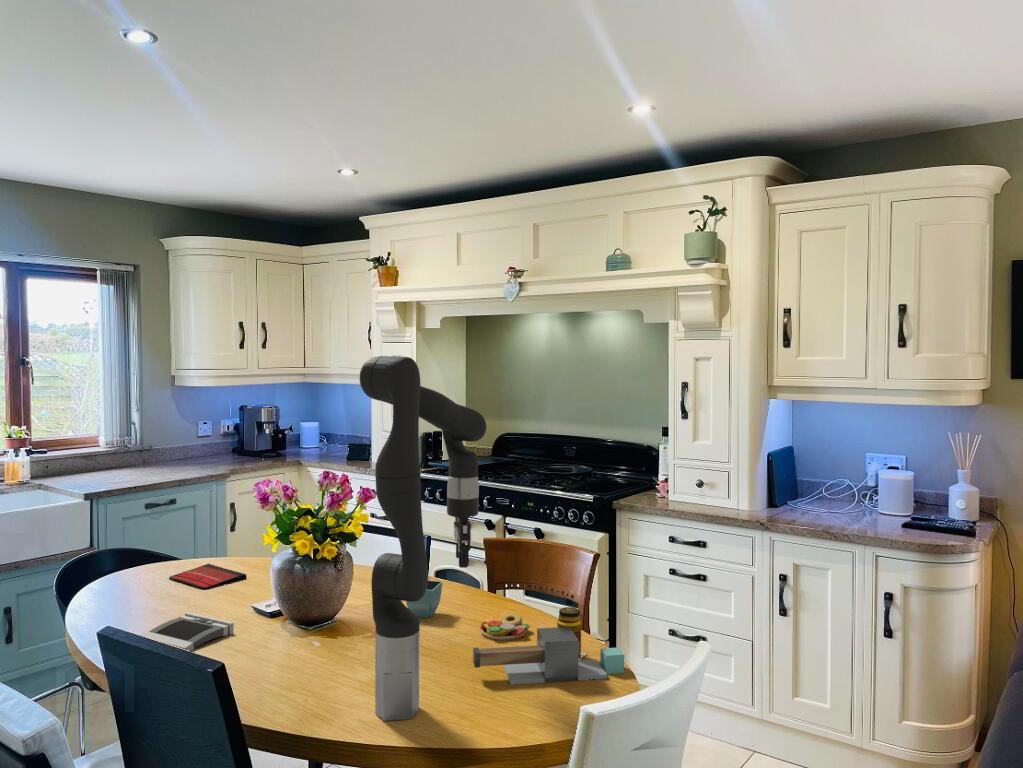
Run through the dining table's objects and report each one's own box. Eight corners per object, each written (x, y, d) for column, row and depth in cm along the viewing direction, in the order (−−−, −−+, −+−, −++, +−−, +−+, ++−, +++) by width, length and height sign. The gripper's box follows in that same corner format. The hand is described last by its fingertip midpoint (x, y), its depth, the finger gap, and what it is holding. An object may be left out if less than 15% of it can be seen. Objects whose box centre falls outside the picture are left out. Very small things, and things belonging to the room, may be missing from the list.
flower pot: (403, 618, 219) (403, 587, 219) (414, 608, 228) (414, 578, 227) (432, 621, 217) (432, 590, 217) (442, 611, 225) (443, 581, 225)
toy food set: (517, 622, 218) (517, 611, 218) (536, 638, 206) (536, 626, 206) (473, 628, 213) (473, 616, 213) (490, 645, 200) (490, 633, 200)
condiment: (575, 664, 188) (575, 616, 188) (544, 657, 192) (545, 610, 192) (587, 654, 194) (587, 607, 194) (557, 648, 199) (557, 602, 198)
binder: (208, 562, 267) (246, 573, 255) (209, 569, 267) (247, 580, 256) (165, 575, 254) (203, 587, 242) (166, 582, 254) (204, 594, 242)
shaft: (572, 662, 181) (572, 647, 181) (474, 667, 177) (474, 653, 177) (568, 656, 185) (568, 642, 184) (472, 661, 181) (473, 647, 180)
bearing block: (578, 680, 179) (578, 640, 178) (544, 682, 177) (545, 642, 177) (568, 665, 188) (569, 626, 187) (536, 666, 186) (537, 628, 186)
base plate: (606, 678, 180) (607, 674, 180) (510, 684, 176) (510, 680, 176) (596, 663, 189) (596, 659, 189) (504, 668, 185) (504, 664, 185)
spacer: (606, 655, 183) (606, 674, 183) (624, 654, 183) (624, 673, 184) (600, 648, 187) (600, 666, 187) (618, 647, 188) (617, 665, 188)
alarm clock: (233, 622, 206) (184, 637, 191) (232, 639, 206) (182, 656, 191) (188, 612, 214) (137, 625, 199) (187, 629, 213) (136, 643, 199)
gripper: (481, 500, 176) (480, 570, 177) (475, 489, 190) (474, 554, 191) (449, 500, 175) (448, 571, 176) (445, 490, 189) (444, 555, 190)
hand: (462, 562), depth 183 cm, fingers open, 8 cm apart
